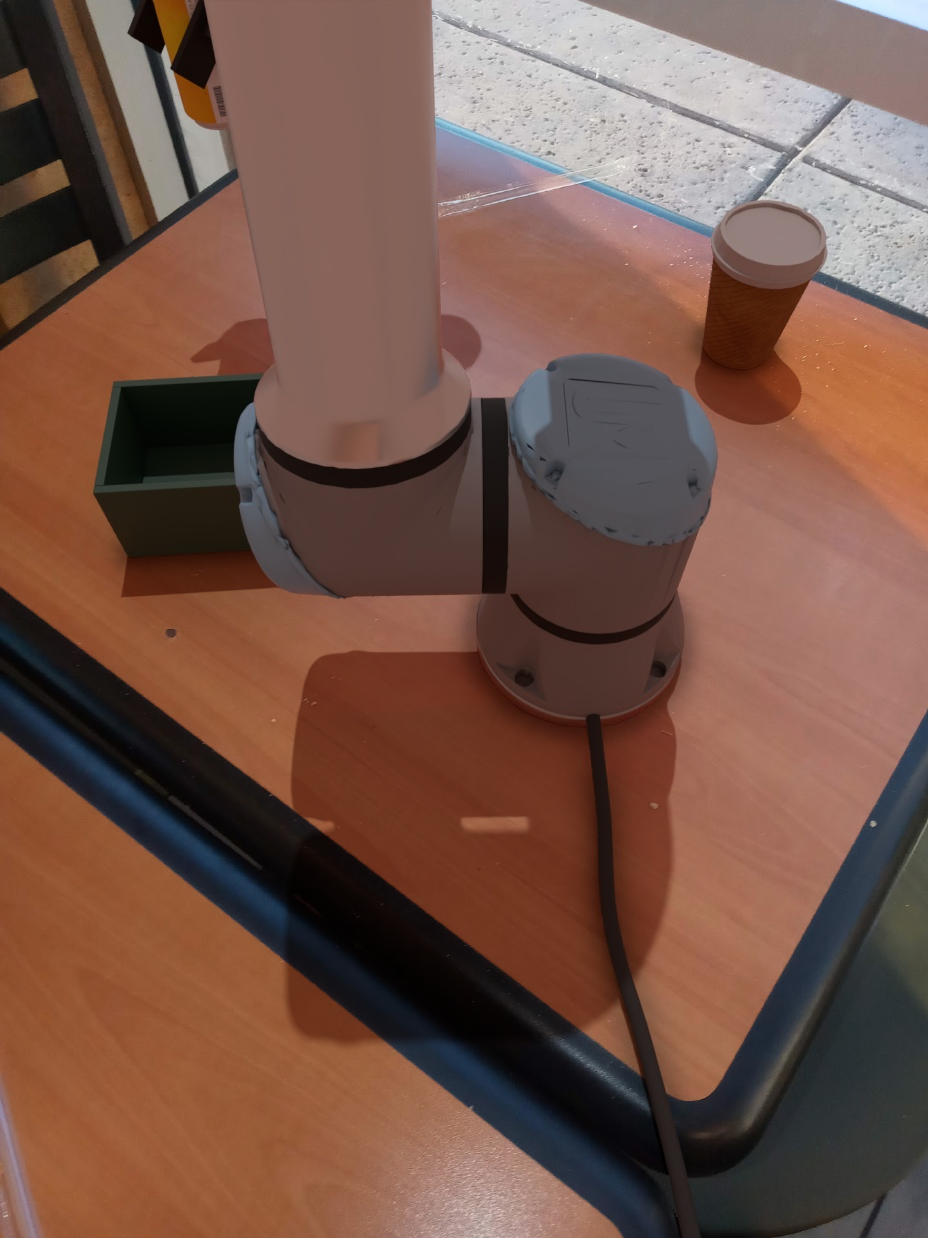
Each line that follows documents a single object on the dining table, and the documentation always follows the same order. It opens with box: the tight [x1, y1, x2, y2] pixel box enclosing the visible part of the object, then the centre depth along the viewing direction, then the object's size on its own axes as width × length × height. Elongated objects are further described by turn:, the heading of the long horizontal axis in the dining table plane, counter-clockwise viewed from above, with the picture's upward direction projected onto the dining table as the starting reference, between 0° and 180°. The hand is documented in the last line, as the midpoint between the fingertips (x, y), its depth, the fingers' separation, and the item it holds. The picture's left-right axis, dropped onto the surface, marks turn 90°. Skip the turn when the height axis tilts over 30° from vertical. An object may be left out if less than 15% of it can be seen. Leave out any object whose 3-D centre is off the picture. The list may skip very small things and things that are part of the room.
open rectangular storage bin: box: [92, 372, 265, 558], centre depth 72 cm, size 11×15×8 cm
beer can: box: [153, 0, 229, 131], centre depth 69 cm, size 6×6×15 cm
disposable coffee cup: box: [702, 199, 829, 370], centre depth 79 cm, size 10×10×12 cm
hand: (165, 60), depth 70 cm, fingers closed on beer can, 6 cm apart
